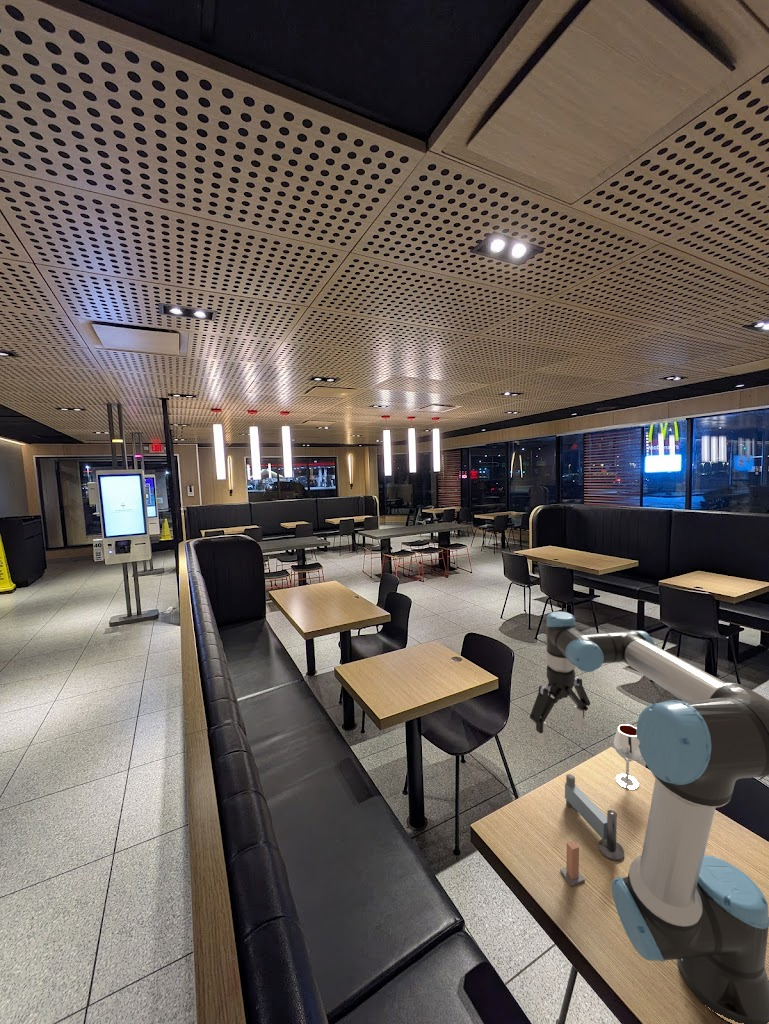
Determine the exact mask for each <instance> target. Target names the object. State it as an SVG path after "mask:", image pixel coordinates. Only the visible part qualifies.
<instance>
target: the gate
mask: <svg viewBox="0 0 769 1024" xmlns="http://www.w3.org/2000/svg"><path fill="white" fill-rule="evenodd" d="M565 777H566V779H565V782H564V798H565V804H566V806H567V807H568V808H572V809H573V811H574V812H576V813H578V814H579V815H580V816H581V817H582V818H583V820H584V821H585V822H586V823H587V824H588V826H590V827H591V828H592V829H593V830H594V832H595V833H596V834H597V835H598V837H600V838H601V839H603V840H605V839H607V816H606V815H607V814H605V813H604V812H603V811H602V810H601V809H600V808H599V807H598V806H597V805H596V804H595V803H594V801H592V800H591V799H590V798H589V797H588V795H586V793H584V792H583V791H582V790H581V789H580V788H579V786H578V785H577V784H576V777H575V776H574V775H573V774H571V773H568V774H566V776H565Z"/></svg>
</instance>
